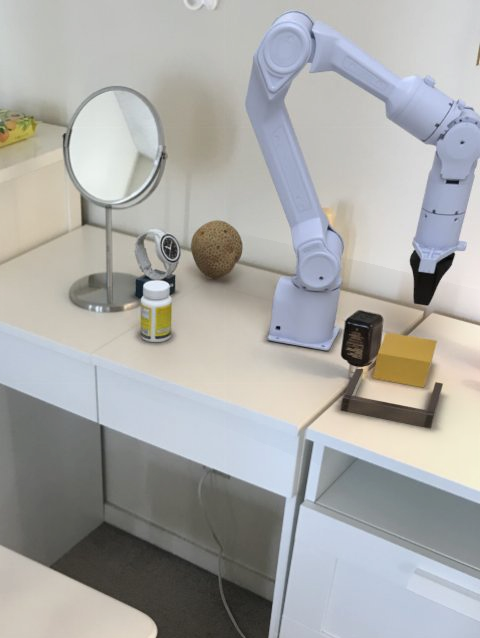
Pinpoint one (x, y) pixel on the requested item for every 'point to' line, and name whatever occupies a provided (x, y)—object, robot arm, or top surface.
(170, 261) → the watch
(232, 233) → the natural sponge
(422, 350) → the block
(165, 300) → the supplement bottle
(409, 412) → the bay
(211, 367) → the top surface
